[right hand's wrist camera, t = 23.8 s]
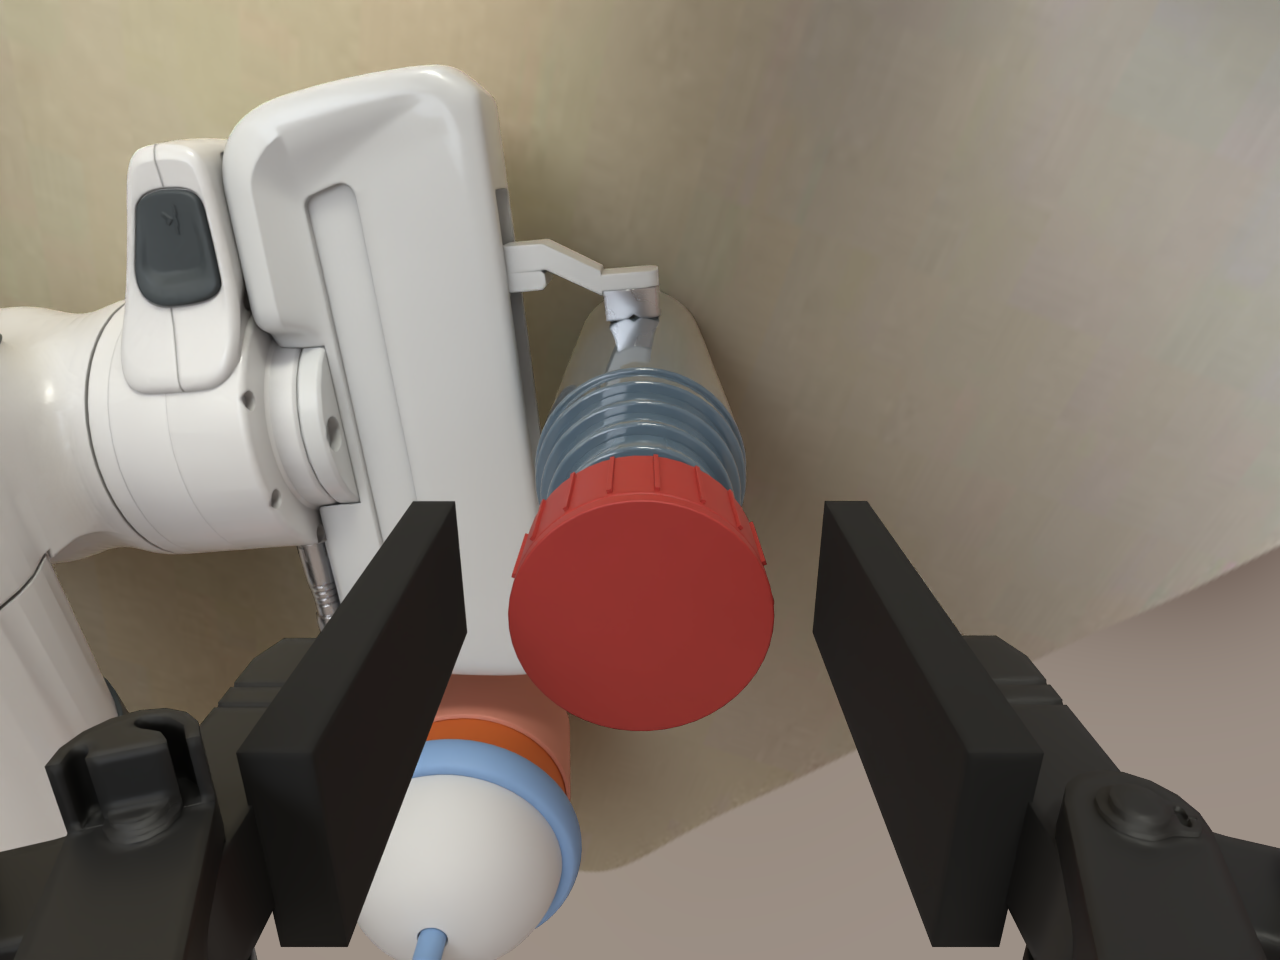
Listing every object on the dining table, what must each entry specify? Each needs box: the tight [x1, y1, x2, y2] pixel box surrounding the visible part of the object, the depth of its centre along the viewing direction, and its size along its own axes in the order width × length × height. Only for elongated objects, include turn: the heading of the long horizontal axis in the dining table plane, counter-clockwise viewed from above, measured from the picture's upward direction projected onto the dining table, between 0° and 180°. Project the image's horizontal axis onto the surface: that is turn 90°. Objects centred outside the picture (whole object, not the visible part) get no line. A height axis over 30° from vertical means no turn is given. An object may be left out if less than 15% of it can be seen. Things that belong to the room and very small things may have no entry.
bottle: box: [535, 291, 746, 508], centre depth 23 cm, size 5×5×20 cm
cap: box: [508, 454, 774, 731], centre depth 14 cm, size 4×4×2 cm
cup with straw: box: [357, 674, 582, 960], centre depth 30 cm, size 9×9×18 cm
